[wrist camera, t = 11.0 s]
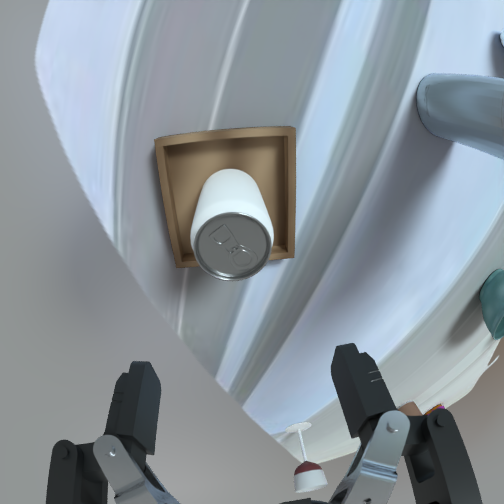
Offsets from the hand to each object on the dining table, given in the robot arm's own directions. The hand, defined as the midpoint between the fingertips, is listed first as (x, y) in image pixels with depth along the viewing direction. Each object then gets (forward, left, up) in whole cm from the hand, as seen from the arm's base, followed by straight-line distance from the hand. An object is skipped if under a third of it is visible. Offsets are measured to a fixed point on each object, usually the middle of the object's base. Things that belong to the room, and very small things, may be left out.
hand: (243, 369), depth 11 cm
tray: (0, 0, -23) cm, 23 cm away
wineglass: (-12, +65, -23) cm, 70 cm away
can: (0, 0, -22) cm, 22 cm away
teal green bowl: (-58, +22, -23) cm, 67 cm away
